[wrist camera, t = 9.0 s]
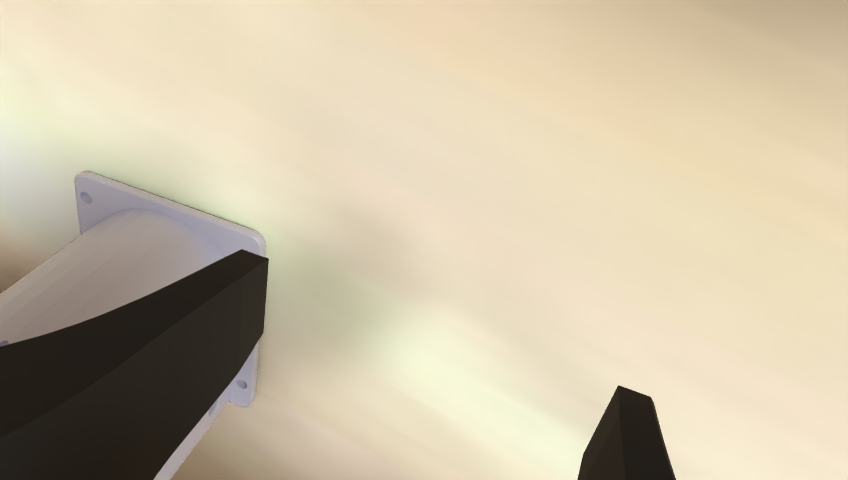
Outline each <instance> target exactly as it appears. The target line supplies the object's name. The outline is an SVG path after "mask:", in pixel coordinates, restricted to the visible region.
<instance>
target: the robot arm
mask: <svg viewBox="0 0 848 480" xmlns="http://www.w3.org/2000/svg"><path fill="white" fill-rule="evenodd" d="M75 190H76V198H77V207H78V215H79V223H80V232H81V236H79V237H78V238H76V239H75V240H74V241H72V242H71V243H70V244H68V245H67V246H65V247H64V248H63V249H61V250H60V251H59V252H57V253H56V254H54V255H53V256H52V257H50V258H49V259H48V260H46V261H45V262H43V263H42V264H41V265H39V266H38V267H37V268H35V269H34V270H32V271H31V272H30V273H28V274H27V275H26V276H24V277H23V278H21V279H20V280H19V281H17V282H16V283H15V284H13V285H12V286H10V287H9V288H8V289H6V290H5V291H4V292H2V293H1V294H0V480H170V479H171V478H172V476H173V475H174V474H175V472H176V471H177V470H178V468H179V467H180V466H181V465H182V463H183V462H184V461H185V459H186V458H187V457H188V455H189V454H190V453H191V451H192V450H193V449H194V447H195V446H196V445H197V443H198V442H199V441H200V439H201V438H202V437H203V435H204V434H205V433H206V431H207V430H208V429H209V427H210V426H211V425H212V423H213V422H214V421H215V419H216V418H217V417H218V415H219V414H220V413H221V411H222V410H223V409H224V407H225V406H226V405H227V403H228V402H231V403H233V404H236V405H238V406H241V407H249V406H251V405H252V403H253V402H254V400H255V394H256V380H257V366H258V352H259V339H260V337H261V335H262V334H263V329H264V315H265V302H266V288H267V275H268V262H269V259H268V258H265V253H266V242H265V240H264V238H263V236H262V235H261V234H260V233H258V232H256V231H255V230H252V229H249V228H246V227H243V226H240V225H238V224H235V223H232V222H229V221H226V220H224V219H221V218H218V217H215V216H212V215H210V214H207V213H204V212H201V211H198V210H196V209H193V208H190V207H187V206H184V205H182V204H179V203H176V202H173V201H170V200H168V199H165V198H162V197H159V196H156V195H153V194H151V193H148V192H145V191H142V190H139V189H137V188H134V187H131V186H128V185H125V184H123V183H120V182H117V181H114V180H111V179H109V178H106V177H103V176H100V175H97V174H95V173H92V172H88V171H85V172H82V173H80V174H79V175H77V176H76V178H75ZM89 195H90V196H91V197H90V196H89ZM248 251H250V252H248ZM578 480H676V478H675V475H674V472H673V469H672V466H671V463H670V460H669V456H668V453H667V450H666V447H665V443H664V440H663V436H662V433H661V429H660V425H659V422H658V418H657V414H656V410H655V406H654V403H653V401H652V399H651V397H649V396H647V395H644V394H641V393H638V392H636V391H633V390H630V389H627V388H624V387H622V386H619V385H618V387H617V389H616V391H615V393H614V395H613V397H612V399H611V401H610V403H609V405H608V407H607V409H606V411H605V413H604V414H603V416H602V418H601V420H600V422H599V424H598V426H597V428H596V430H595V432H594V434H593V436H592V438H591V440H590V442H589V444H588V446H587V448H586V450H585V452H584V454H583V458H582V462H581V467H580V471H579V475H578Z"/></svg>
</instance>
